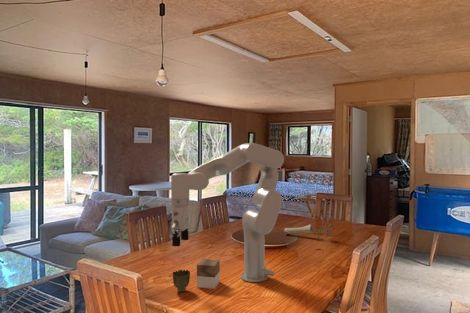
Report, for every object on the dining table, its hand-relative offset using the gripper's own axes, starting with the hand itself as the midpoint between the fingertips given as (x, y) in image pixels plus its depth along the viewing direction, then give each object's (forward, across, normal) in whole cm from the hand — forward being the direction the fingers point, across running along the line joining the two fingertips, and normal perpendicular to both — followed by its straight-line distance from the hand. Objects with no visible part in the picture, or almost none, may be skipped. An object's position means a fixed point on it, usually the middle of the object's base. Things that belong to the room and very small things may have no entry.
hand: (180, 242), depth 146 cm
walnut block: (+16, +9, -9) cm, 20 cm away
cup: (+21, 0, 0) cm, 21 cm away
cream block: (+20, +9, -9) cm, 24 cm away
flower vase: (+20, +98, -53) cm, 113 cm away
